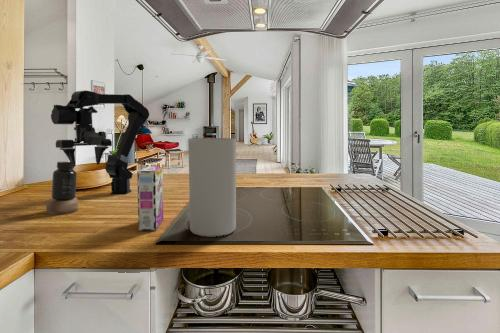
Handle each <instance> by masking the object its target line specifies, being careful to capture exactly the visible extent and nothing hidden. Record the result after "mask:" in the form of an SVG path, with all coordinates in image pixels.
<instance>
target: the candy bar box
mask: <svg viewBox="0 0 500 333" xmlns="http://www.w3.org/2000/svg"><path fill="white" fill-rule="evenodd" d="M136 173H137V174H136V175H137V214H138V215H137V216H138V218H137V219H138V222H137V223H138V231H139V232H141V231H142V232H146V231H147V232H152V231H153V232H154V231H155V232H156V231H157V229H158V228H159V227H160V225H161V223H162V222H163V221H164V175H163V174H164V168H163V166H146V167H144V168H142V169H140V170H138V171H137V172H136Z"/></svg>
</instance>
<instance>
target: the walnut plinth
mask: <svg viewBox="0 0 500 333" xmlns="http://www.w3.org/2000/svg"><path fill="white" fill-rule="evenodd" d="M78 200H79V199H78V197H75V198H74V199H71V200H56V199H53V198H51V199H47V200H46V201H45V209H46V214H47V215H50V216H64V215H69V214H74V213H76V212H78V211H79V202H78Z"/></svg>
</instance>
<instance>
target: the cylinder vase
mask: <svg viewBox="0 0 500 333" xmlns="http://www.w3.org/2000/svg"><path fill="white" fill-rule="evenodd" d="M187 144H188V181H189V182H188V184H189V185H188V191H189V193H188V196H189V197H188V198H189V230H190V232H191V233H192V234H194V235H196V236H200V237H205V236H206V237H207V238H215V237H216V236H217V237H222V236H223V235H224V236H227V235H230V234H232V233H234V231H235V230H236V228H237V175H236V174H237V138H233V137H231V138H229V137H228V138H227V137H194V138H193V137H191V138H188V143H187ZM224 236H223V237H224ZM217 237H216V238H217Z"/></svg>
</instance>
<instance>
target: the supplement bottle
mask: <svg viewBox="0 0 500 333" xmlns="http://www.w3.org/2000/svg"><path fill="white" fill-rule="evenodd" d="M56 168H57V169H56V170H54V171H53V173H52V181H51V182H52V184H51V199H56V200H71V199H74V198H76V191H77V177H78V176H77V175H78V174H77V171H75V170H74V169H75V167H74V163H73V162H70V161H57V163H56Z"/></svg>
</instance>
